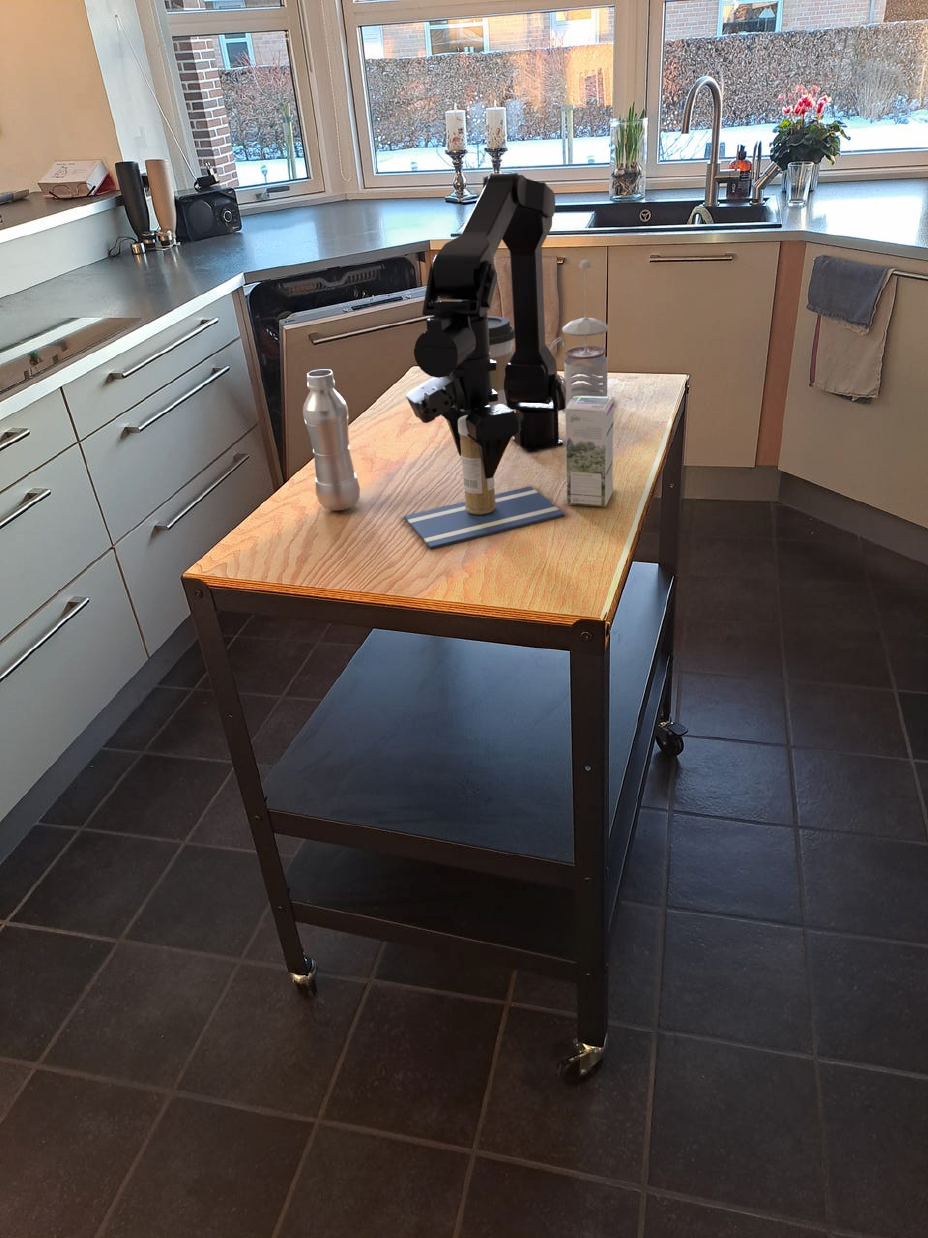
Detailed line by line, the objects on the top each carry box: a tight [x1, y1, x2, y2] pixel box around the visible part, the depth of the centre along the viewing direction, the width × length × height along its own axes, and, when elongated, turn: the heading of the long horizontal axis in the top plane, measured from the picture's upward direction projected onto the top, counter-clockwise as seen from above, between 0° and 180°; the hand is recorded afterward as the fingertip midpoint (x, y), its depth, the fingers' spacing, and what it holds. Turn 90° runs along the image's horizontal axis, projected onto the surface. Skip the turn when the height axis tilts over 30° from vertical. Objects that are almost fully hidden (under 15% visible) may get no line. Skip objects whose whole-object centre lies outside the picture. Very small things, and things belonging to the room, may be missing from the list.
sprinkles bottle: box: [458, 415, 496, 515], centre depth 128 cm, size 5×5×14 cm
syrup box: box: [564, 396, 615, 508], centre depth 129 cm, size 6×6×14 cm
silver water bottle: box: [302, 368, 361, 511], centre depth 132 cm, size 6×7×20 cm
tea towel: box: [403, 485, 565, 550], centre depth 130 cm, size 20×11×1 cm, turn 112°
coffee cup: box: [487, 315, 515, 407], centre depth 168 cm, size 11×11×15 cm
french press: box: [548, 259, 610, 412], centre depth 161 cm, size 10×12×25 cm
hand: (475, 466), depth 128 cm, fingers open, 9 cm apart
